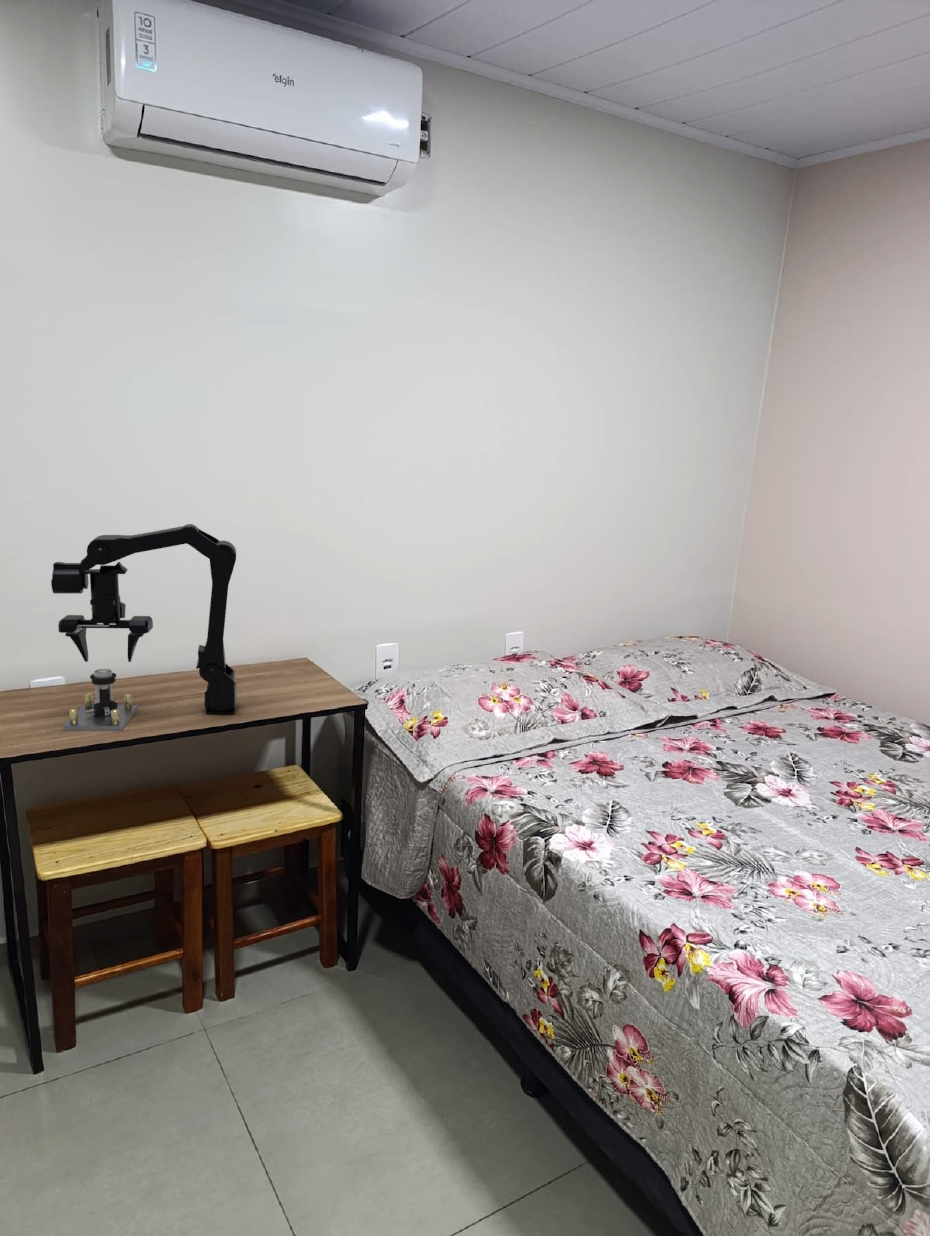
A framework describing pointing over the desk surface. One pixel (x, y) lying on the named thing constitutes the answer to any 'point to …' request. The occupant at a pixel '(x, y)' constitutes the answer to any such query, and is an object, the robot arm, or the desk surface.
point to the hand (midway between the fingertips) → (108, 661)
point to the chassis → (105, 722)
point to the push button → (103, 692)
